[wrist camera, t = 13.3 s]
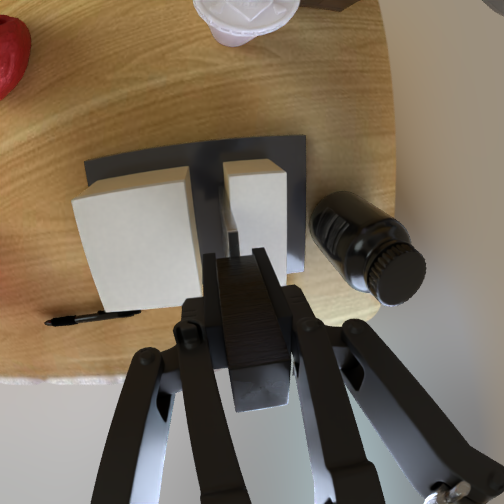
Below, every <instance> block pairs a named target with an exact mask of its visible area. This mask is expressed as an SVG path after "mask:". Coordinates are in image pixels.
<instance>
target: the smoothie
mask: <svg viewBox="0 0 504 504" xmlns="http://www.w3.org/2000/svg"><path fill="white" fill-rule="evenodd" d="M193 4H194V7H195V9H196V11H197V12H198V14H199V16H200V17H201V18H202V19H203V20H204V21H205V22H206V23H207V24H208V26H209V28H210V30H211V33H212V35H213V37H214V38H215V40H216V41H217V42H219V43H220V44H222V45H225V46H229V47H237V46H241V45H243V44H245V43H247V42H248V41H250V40H251V39H253V38H255V37H256V36H258V35H264V34H267V33H270V32H273V31H275V30H277V29H279V28H280V27H282V26H283V25H285V24H286V23H287V22H288V21H289V20H290V19H291V18H292V16H293V15H294V13H295V12H296V10H297V9H298V6H299V4H300V0H193Z"/></svg>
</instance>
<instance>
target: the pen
mask: <svg viewBox="0 0 504 504" xmlns="http://www.w3.org/2000/svg"><path fill="white" fill-rule="evenodd" d="M139 313H141V310H129V311H117V312H105V310H104V311H98V312H97V313H94V314H87V315H79V316H76V315H74V316H65V317H59V318H53V319H51V320H47V321H46V322H44V324H45V325H48V326H54V327H56V326H66V325H74V324H78V323H84V322H92V321H100V320H107V319H115V318H125V317H131V316H134V314H139Z"/></svg>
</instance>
